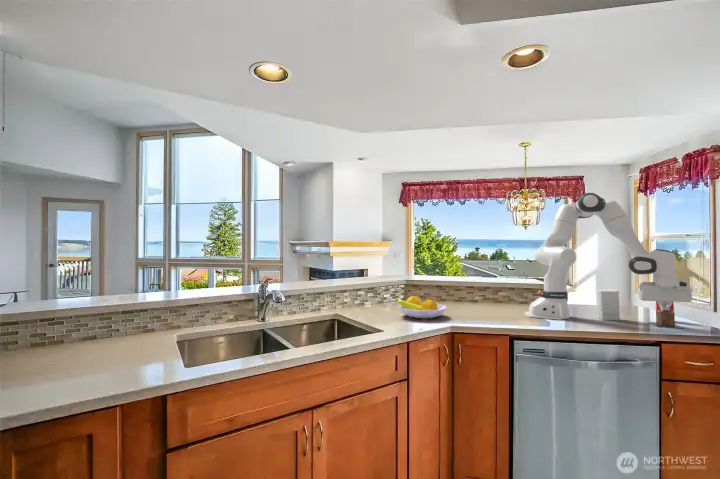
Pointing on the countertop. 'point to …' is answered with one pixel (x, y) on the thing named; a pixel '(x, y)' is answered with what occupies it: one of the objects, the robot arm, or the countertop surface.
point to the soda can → (664, 306)
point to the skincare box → (608, 305)
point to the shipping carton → (665, 318)
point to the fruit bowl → (421, 308)
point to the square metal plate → (665, 326)
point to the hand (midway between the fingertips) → (665, 310)
